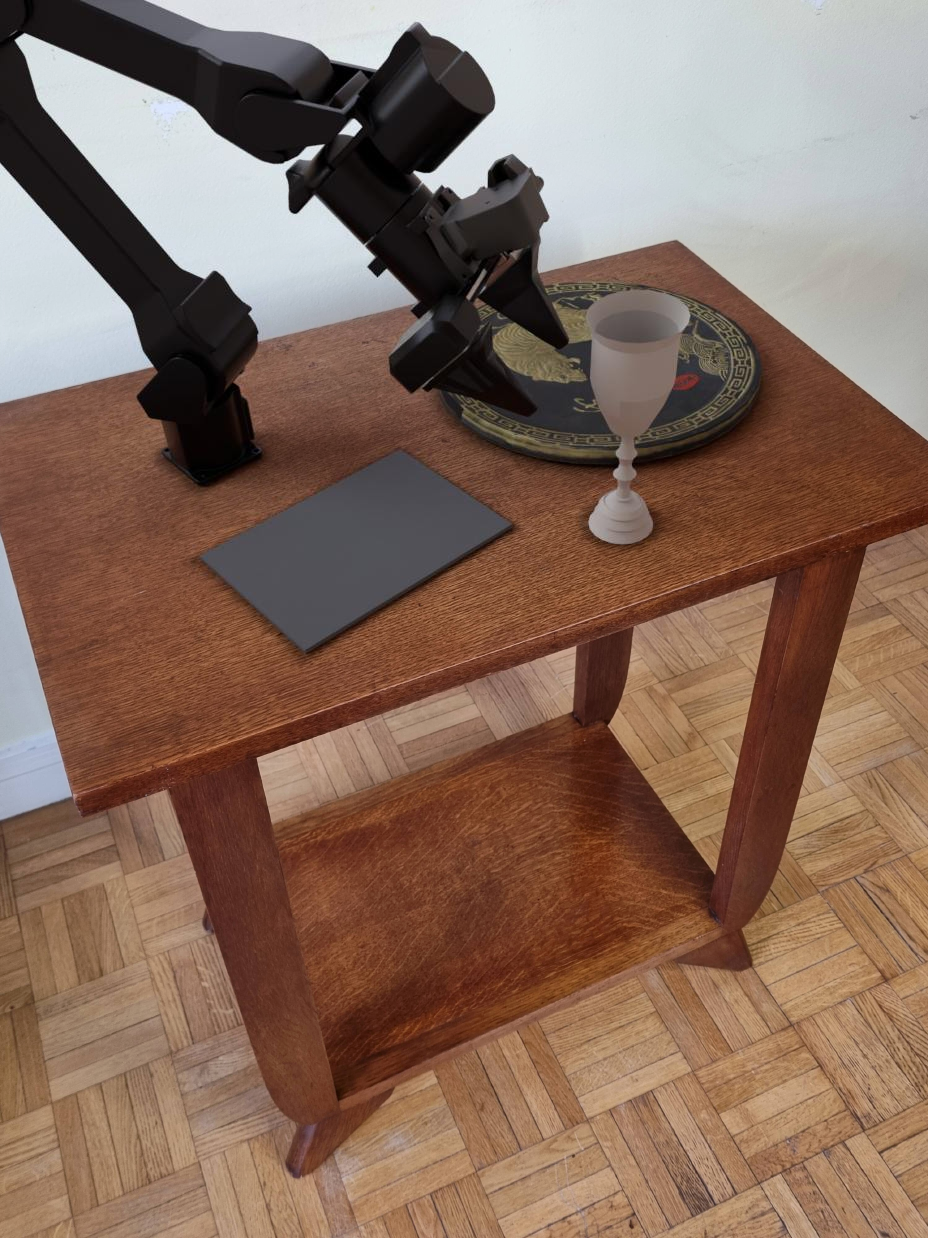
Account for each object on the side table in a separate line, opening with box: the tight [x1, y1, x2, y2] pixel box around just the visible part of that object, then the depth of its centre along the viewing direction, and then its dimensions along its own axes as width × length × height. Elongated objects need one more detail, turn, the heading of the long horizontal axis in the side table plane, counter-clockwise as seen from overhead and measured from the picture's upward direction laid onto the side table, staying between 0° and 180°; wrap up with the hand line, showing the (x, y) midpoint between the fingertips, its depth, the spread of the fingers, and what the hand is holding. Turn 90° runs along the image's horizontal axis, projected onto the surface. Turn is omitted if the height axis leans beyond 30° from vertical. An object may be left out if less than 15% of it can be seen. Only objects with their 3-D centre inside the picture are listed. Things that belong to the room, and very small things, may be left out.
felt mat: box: [199, 448, 513, 654], centre depth 85 cm, size 20×14×1 cm
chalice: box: [586, 290, 690, 545], centre depth 79 cm, size 7×7×18 cm
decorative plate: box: [436, 280, 763, 465], centre depth 101 cm, size 30×2×30 cm
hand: (549, 377), depth 79 cm, fingers open, 9 cm apart
